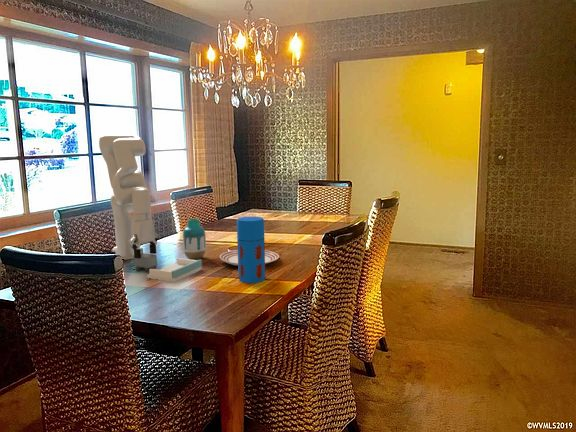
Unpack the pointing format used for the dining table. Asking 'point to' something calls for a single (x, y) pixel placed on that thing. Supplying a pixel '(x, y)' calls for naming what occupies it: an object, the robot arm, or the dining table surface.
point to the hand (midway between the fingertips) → (145, 255)
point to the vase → (194, 239)
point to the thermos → (251, 249)
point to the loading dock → (176, 270)
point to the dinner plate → (232, 257)
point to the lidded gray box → (145, 261)
